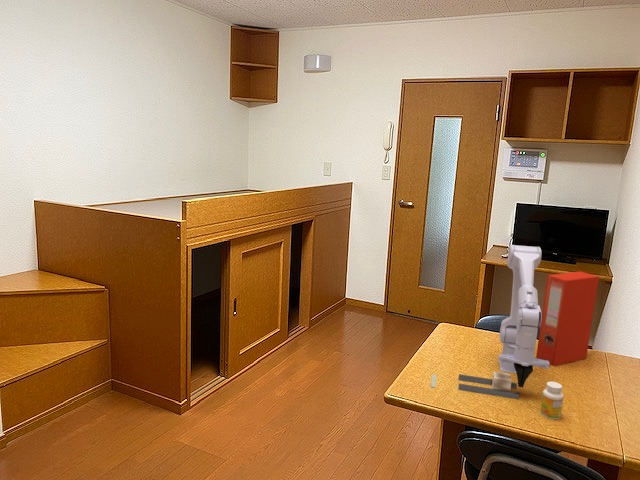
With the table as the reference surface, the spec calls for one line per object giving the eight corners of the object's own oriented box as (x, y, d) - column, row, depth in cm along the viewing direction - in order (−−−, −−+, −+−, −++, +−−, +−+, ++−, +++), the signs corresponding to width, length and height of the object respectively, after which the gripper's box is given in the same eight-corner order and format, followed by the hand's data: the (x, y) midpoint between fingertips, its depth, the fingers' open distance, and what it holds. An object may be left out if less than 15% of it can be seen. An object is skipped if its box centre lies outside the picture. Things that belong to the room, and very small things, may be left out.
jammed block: (508, 388, 157) (509, 373, 156) (509, 395, 152) (511, 380, 151) (491, 385, 158) (493, 371, 157) (492, 392, 154) (494, 378, 153)
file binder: (586, 359, 182) (599, 276, 176) (554, 366, 175) (566, 280, 169) (567, 350, 189) (579, 271, 183) (536, 357, 182) (546, 274, 176)
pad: (456, 378, 163) (456, 378, 163) (456, 391, 155) (456, 390, 155) (432, 374, 165) (432, 374, 165) (430, 387, 157) (430, 386, 157)
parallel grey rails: (515, 388, 158) (516, 382, 157) (518, 400, 150) (519, 394, 150) (458, 379, 162) (458, 374, 162) (458, 390, 155) (458, 384, 155)
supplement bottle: (536, 410, 145) (540, 380, 143) (553, 410, 145) (558, 380, 143) (546, 420, 140) (550, 389, 138) (564, 420, 140) (568, 389, 138)
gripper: (501, 346, 149) (496, 387, 151) (553, 353, 145) (547, 395, 148) (499, 338, 155) (495, 377, 158) (549, 344, 152) (543, 385, 154)
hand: (520, 385), depth 153 cm, fingers closed
